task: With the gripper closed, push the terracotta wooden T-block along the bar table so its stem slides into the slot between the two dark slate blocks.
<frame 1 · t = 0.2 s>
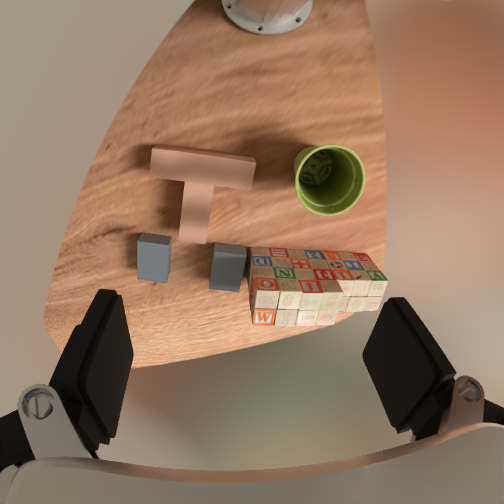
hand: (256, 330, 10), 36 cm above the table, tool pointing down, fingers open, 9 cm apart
t dock: (193, 239, 48), on the table
plant pot: (312, 165, 43), on the table
stack of blocks: (308, 264, 52), on the table
t block: (199, 191, 44), on the table
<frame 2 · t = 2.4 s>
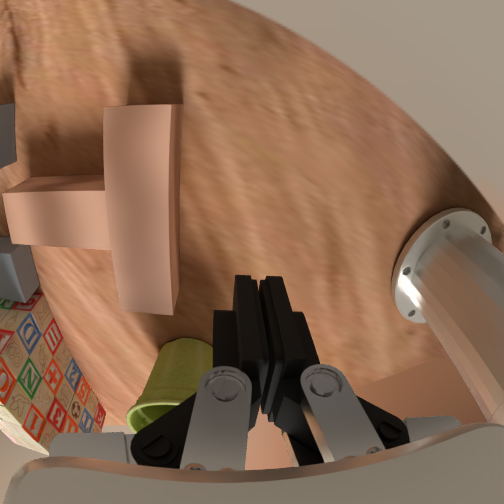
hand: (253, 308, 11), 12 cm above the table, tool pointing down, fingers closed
t dock: (21, 200, 19), on the table
plant pot: (189, 356, 29), on the table
stack of blocks: (59, 361, 29), on the table
t block: (97, 200, 20), on the table
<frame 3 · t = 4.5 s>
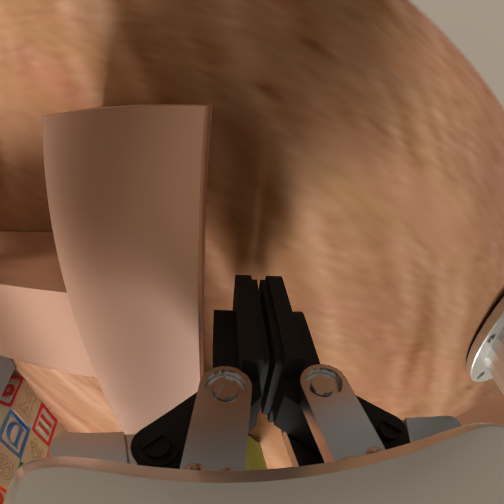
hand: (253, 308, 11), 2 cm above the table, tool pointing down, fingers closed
plant pot: (221, 443, 20), on the table
stack of blocks: (56, 436, 21), on the table
t block: (65, 272, 12), on the table, touching gripper
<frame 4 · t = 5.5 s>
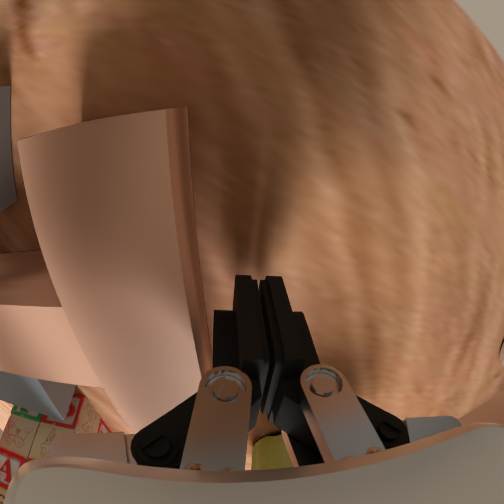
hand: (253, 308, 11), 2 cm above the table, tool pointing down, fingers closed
t dock: (32, 270, 11), on the table
plant pot: (289, 440, 21), on the table
stack of blocks: (103, 449, 21), on the table
t block: (67, 287, 12), on the table, touching gripper
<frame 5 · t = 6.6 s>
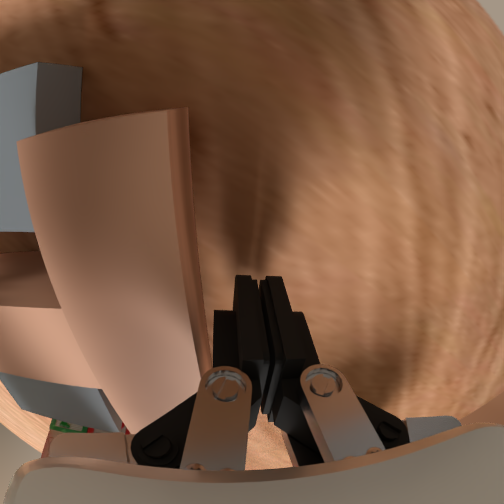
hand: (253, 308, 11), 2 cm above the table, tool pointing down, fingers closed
t dock: (95, 276, 12), on the table
stack of blocks: (139, 456, 22), on the table
t block: (65, 287, 12), on the table, touching gripper, t dock
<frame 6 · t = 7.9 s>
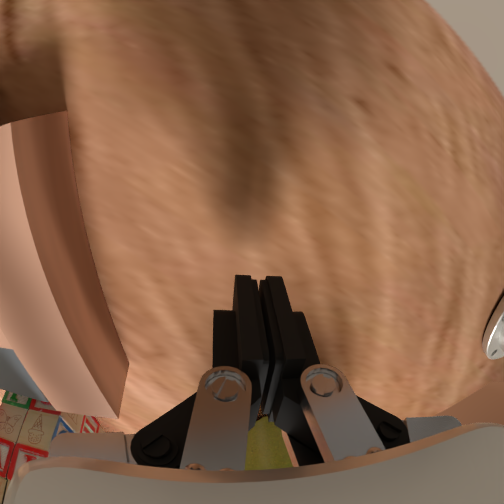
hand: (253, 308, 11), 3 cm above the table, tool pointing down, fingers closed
t dock: (18, 257, 12), on the table
plant pot: (268, 428, 22), on the table
stack of blocks: (92, 440, 22), on the table
t block: (0, 268, 12), on the table
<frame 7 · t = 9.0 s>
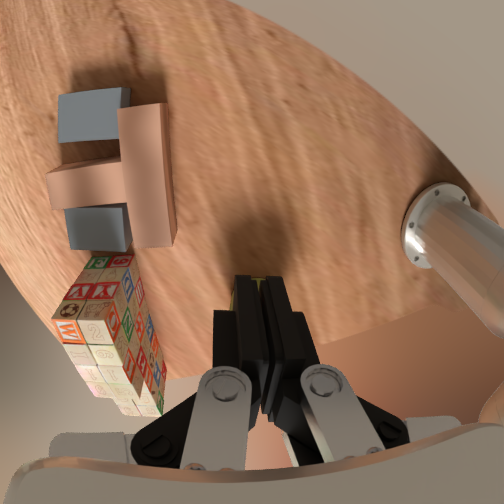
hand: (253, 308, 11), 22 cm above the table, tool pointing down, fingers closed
t dock: (129, 167, 29), on the table
stack of blocks: (132, 320, 39), on the table
t block: (114, 174, 29), on the table
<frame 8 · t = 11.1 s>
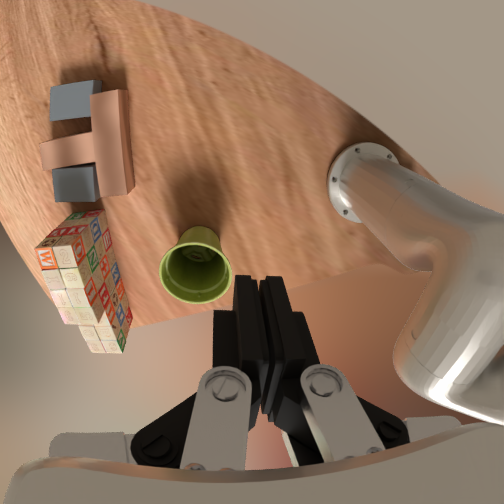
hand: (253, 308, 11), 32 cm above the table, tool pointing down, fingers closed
t dock: (100, 138, 36), on the table
plant pot: (199, 243, 45), on the table
stack of blocks: (103, 268, 46), on the table
t block: (89, 144, 36), on the table
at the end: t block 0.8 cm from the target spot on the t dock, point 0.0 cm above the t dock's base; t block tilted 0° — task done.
